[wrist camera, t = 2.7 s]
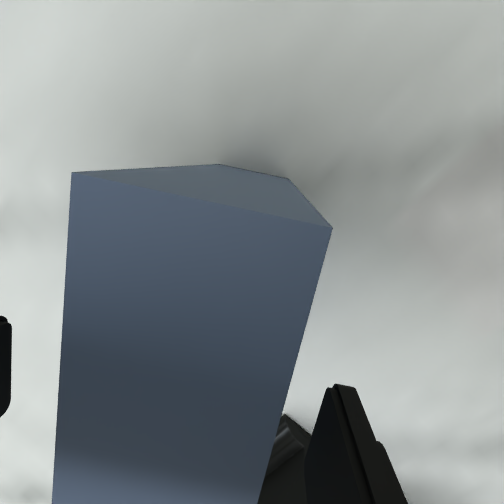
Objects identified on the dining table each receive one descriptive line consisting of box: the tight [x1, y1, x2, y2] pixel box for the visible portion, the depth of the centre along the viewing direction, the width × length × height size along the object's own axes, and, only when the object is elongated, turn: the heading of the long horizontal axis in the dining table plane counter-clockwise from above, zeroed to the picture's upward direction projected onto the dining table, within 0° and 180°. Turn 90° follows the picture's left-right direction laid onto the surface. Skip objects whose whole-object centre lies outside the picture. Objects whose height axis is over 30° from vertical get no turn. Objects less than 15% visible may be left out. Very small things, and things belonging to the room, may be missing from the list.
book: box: [52, 164, 333, 504], centre depth 17 cm, size 12×5×18 cm, turn 168°
